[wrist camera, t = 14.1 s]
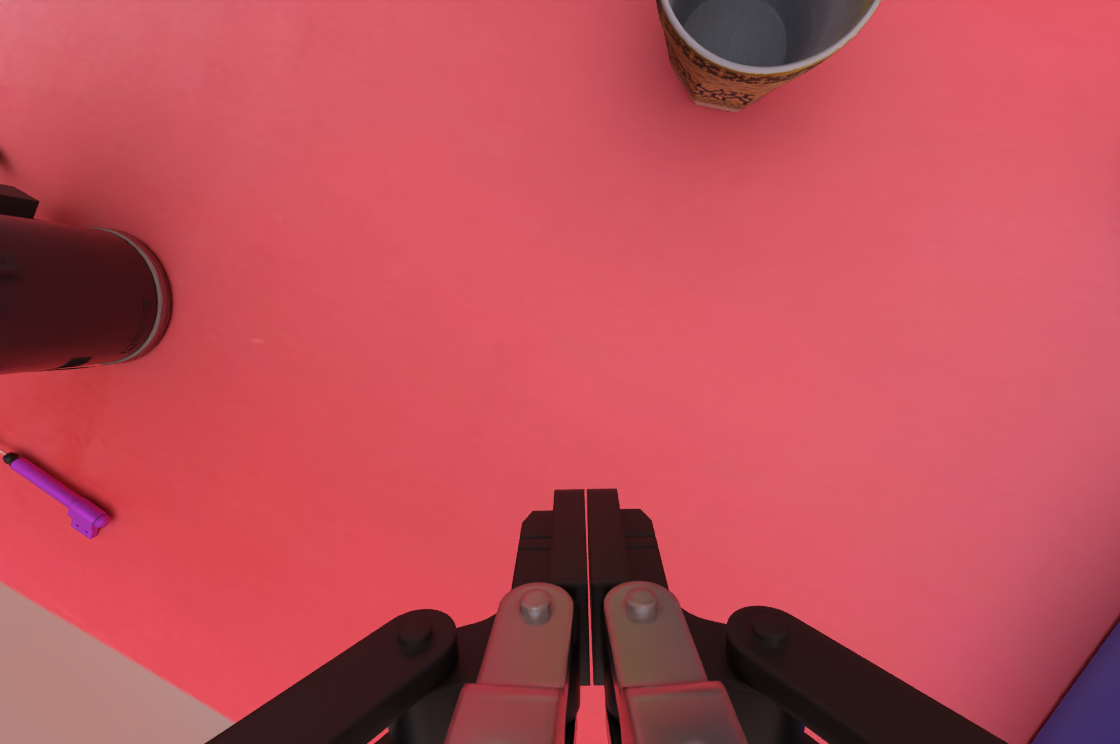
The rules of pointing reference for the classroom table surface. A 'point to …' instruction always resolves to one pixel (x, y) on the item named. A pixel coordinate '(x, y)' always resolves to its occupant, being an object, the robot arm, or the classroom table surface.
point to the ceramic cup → (753, 43)
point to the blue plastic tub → (1090, 702)
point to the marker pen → (61, 496)
